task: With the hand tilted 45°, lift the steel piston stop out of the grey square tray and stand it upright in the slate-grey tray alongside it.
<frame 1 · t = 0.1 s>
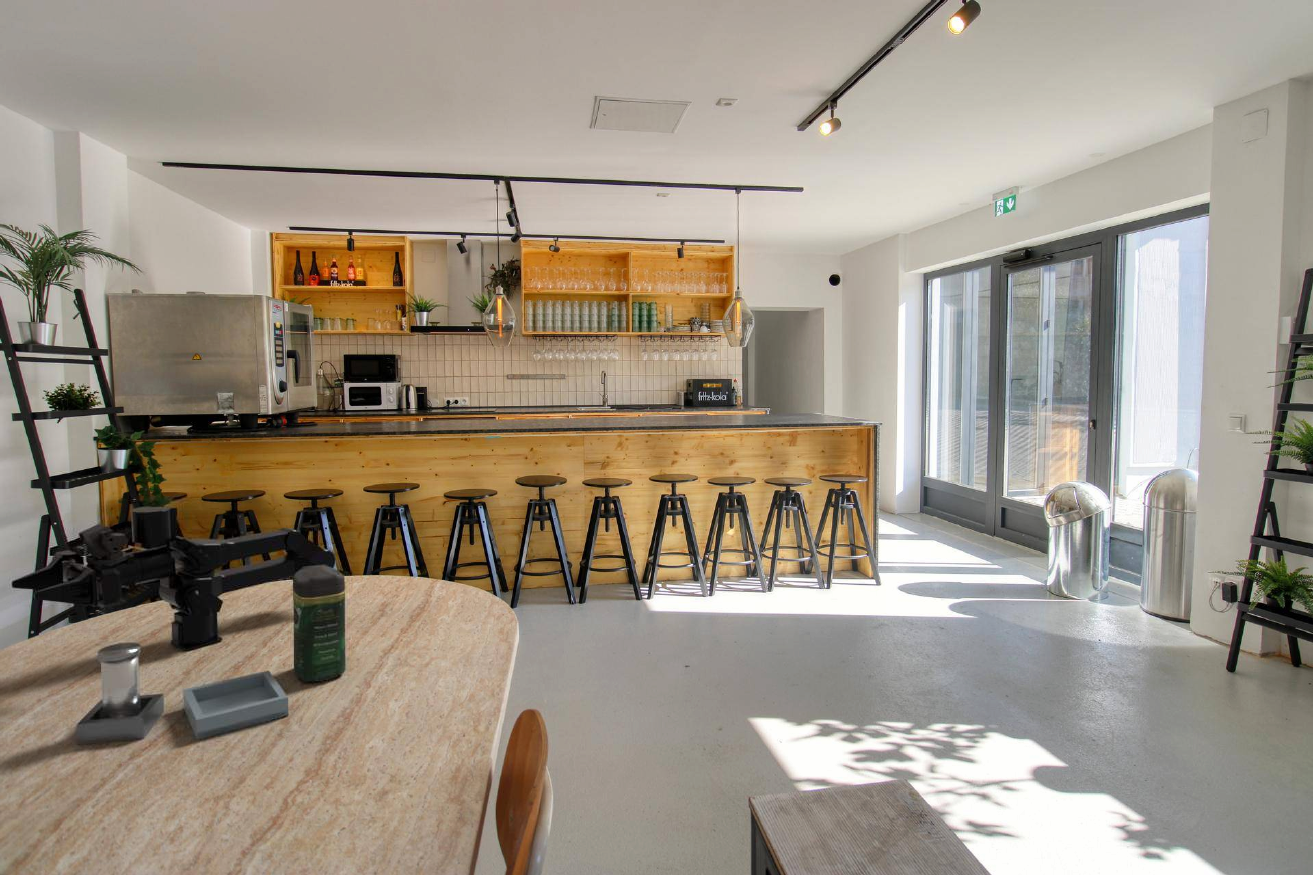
hand: (23, 590, 116), 17 cm above the table, tool horizontal, fingers open, 9 cm apart
coffee jar: (320, 673, 128), on the table
parts tray: (235, 711, 113), on the table
grey square tray: (122, 727, 107), on the table
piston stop: (121, 688, 107), in the grey square tray
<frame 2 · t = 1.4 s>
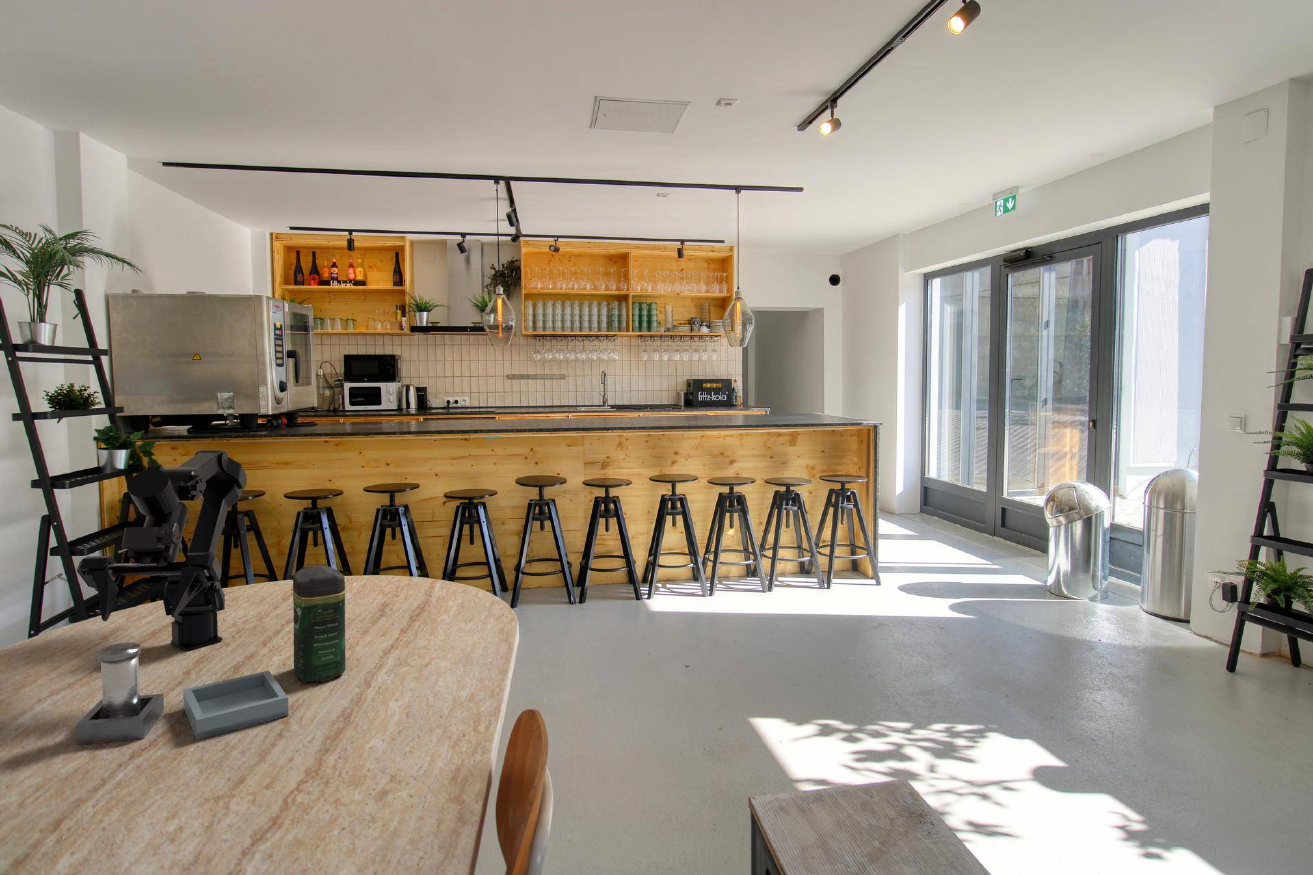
hand: (138, 618, 113), 14 cm above the table, tool tilted 45°, fingers open, 9 cm apart
nothing on the table moved.
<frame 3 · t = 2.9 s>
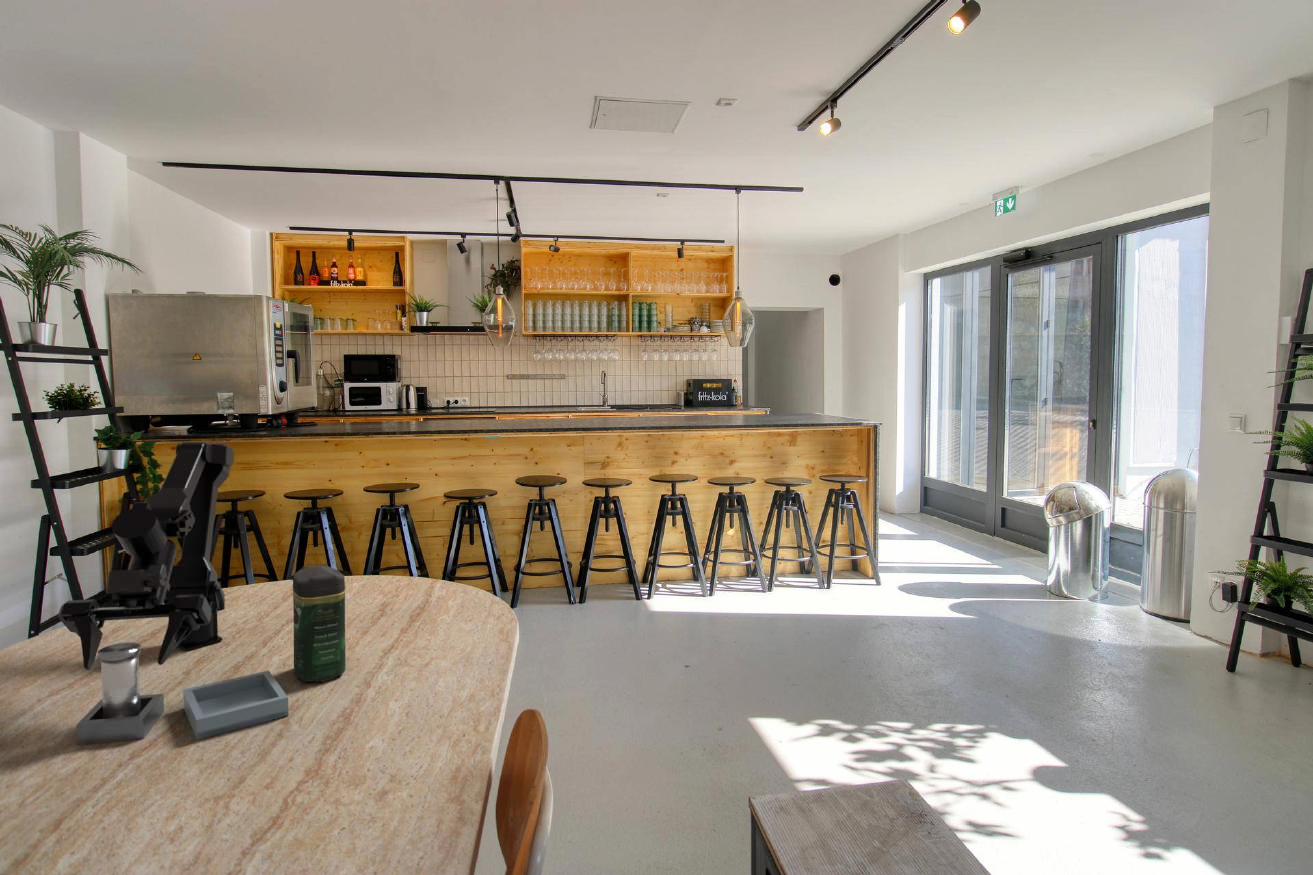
hand: (123, 666, 107), 9 cm above the table, tool tilted 45°, fingers open, 9 cm apart
nothing on the table moved.
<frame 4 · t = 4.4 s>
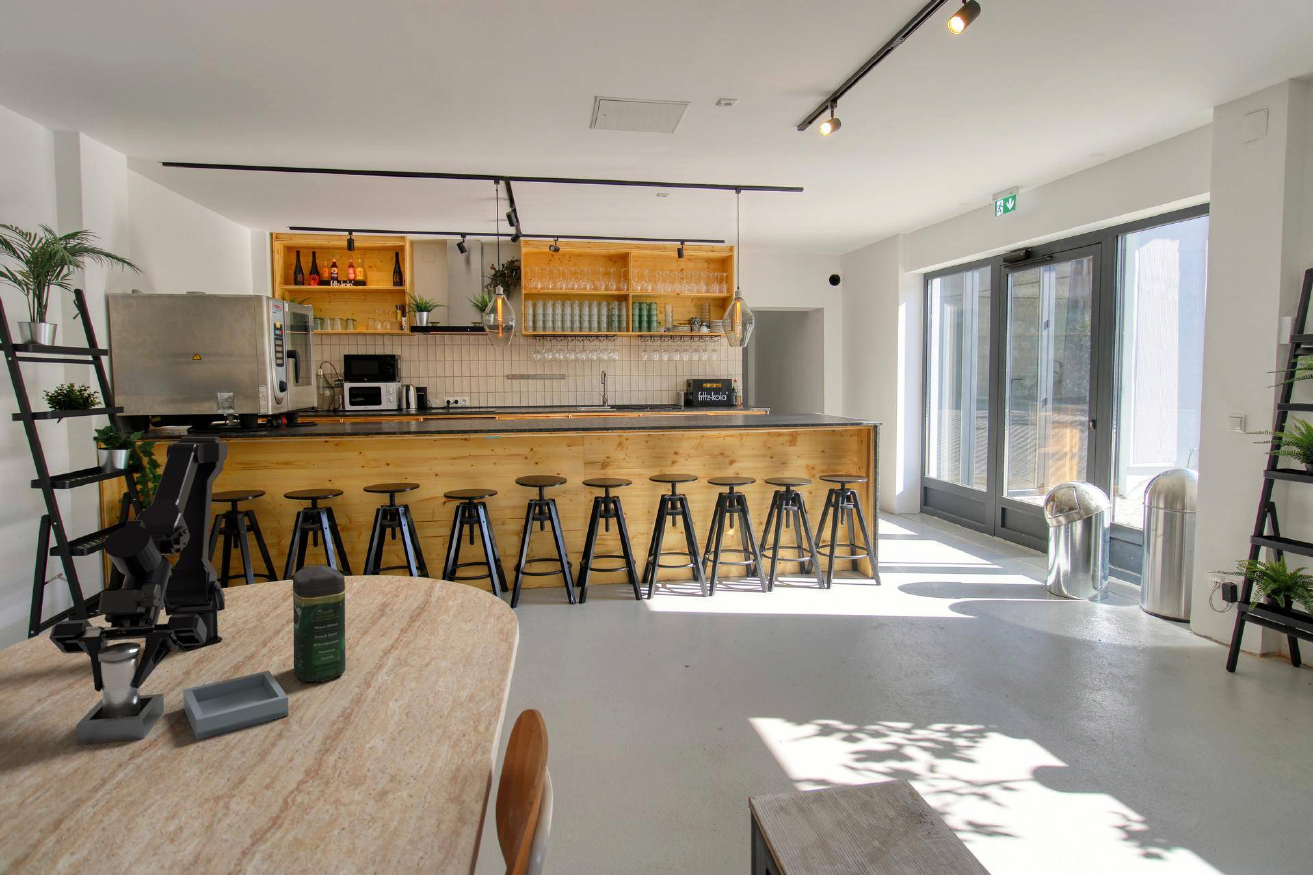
hand: (116, 688, 105), 7 cm above the table, tool tilted 45°, fingers closed on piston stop, 4 cm apart
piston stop: (121, 688, 107), in the grey square tray, touching gripper
everything else where it was.
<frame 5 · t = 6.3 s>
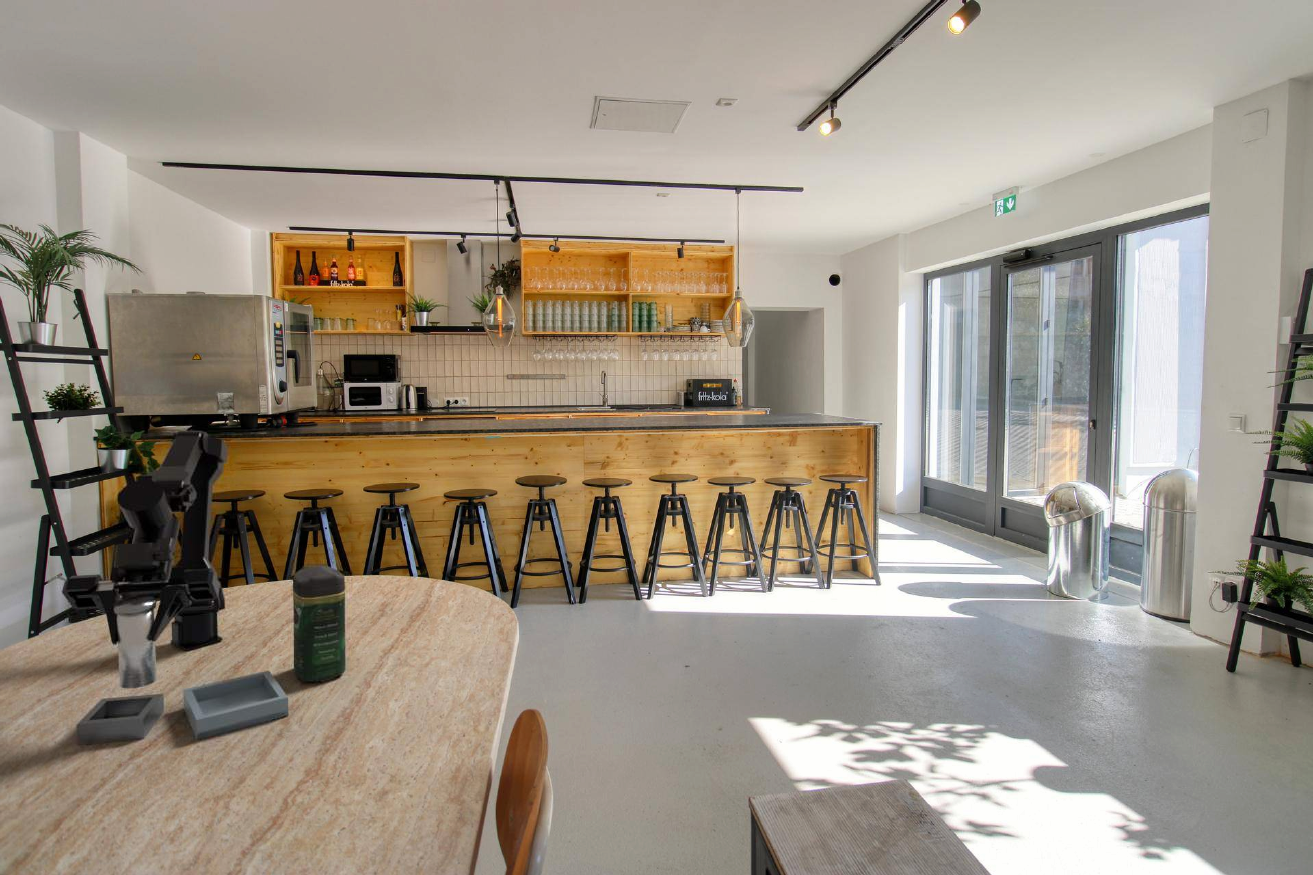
hand: (133, 641, 105), 13 cm above the table, tool tilted 45°, fingers closed on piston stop, 4 cm apart
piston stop: (136, 642, 106), point 13 cm above the table, touching gripper
everything else where it was.
when the fingers open (9 cm above the table, at t = 8.5 s): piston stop drops 1 cm, resting on parts tray.
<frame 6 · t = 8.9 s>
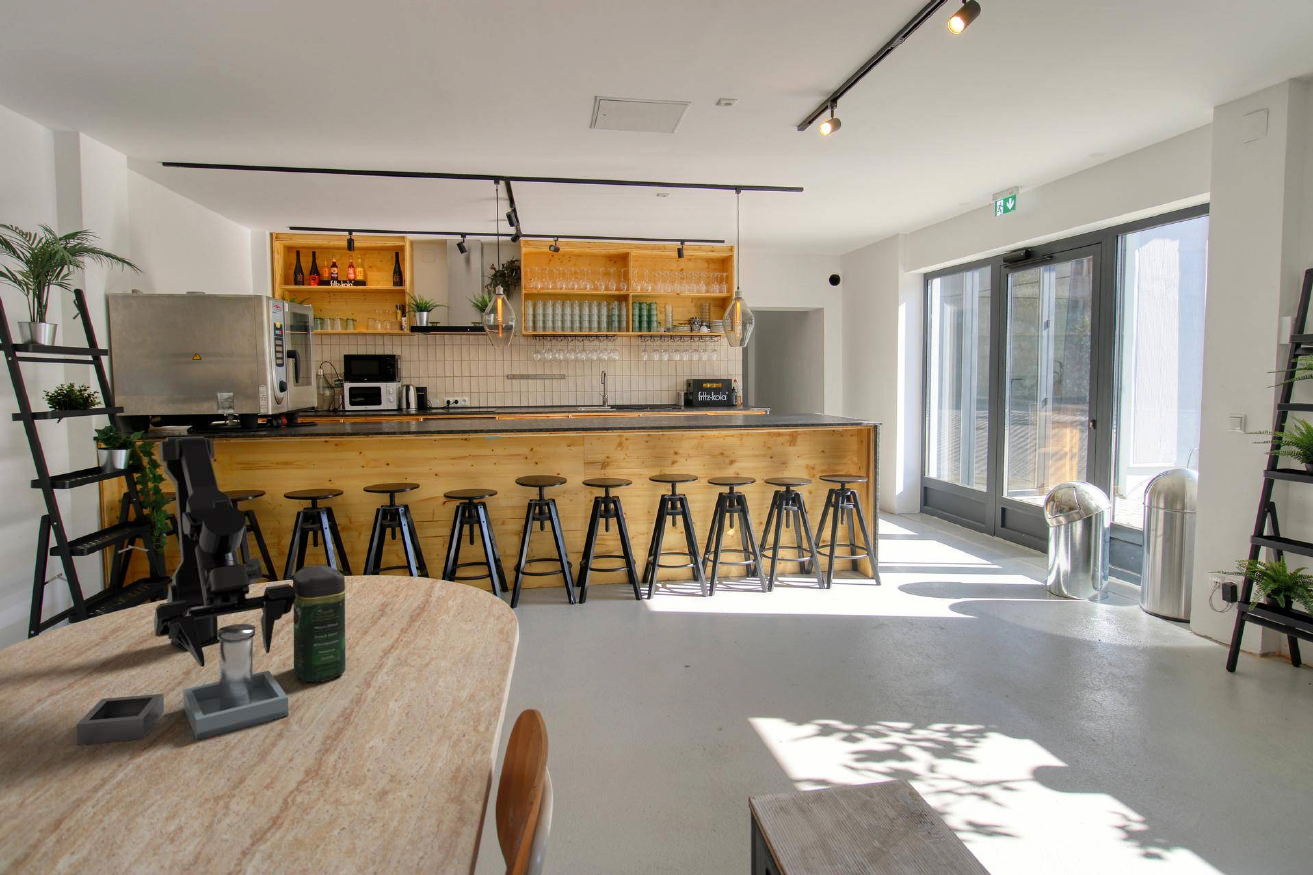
hand: (236, 658, 111), 9 cm above the table, tool tilted 45°, fingers open, 8 cm apart
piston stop: (236, 667, 112), in the parts tray, point 7 cm above the table
everything else where it was.
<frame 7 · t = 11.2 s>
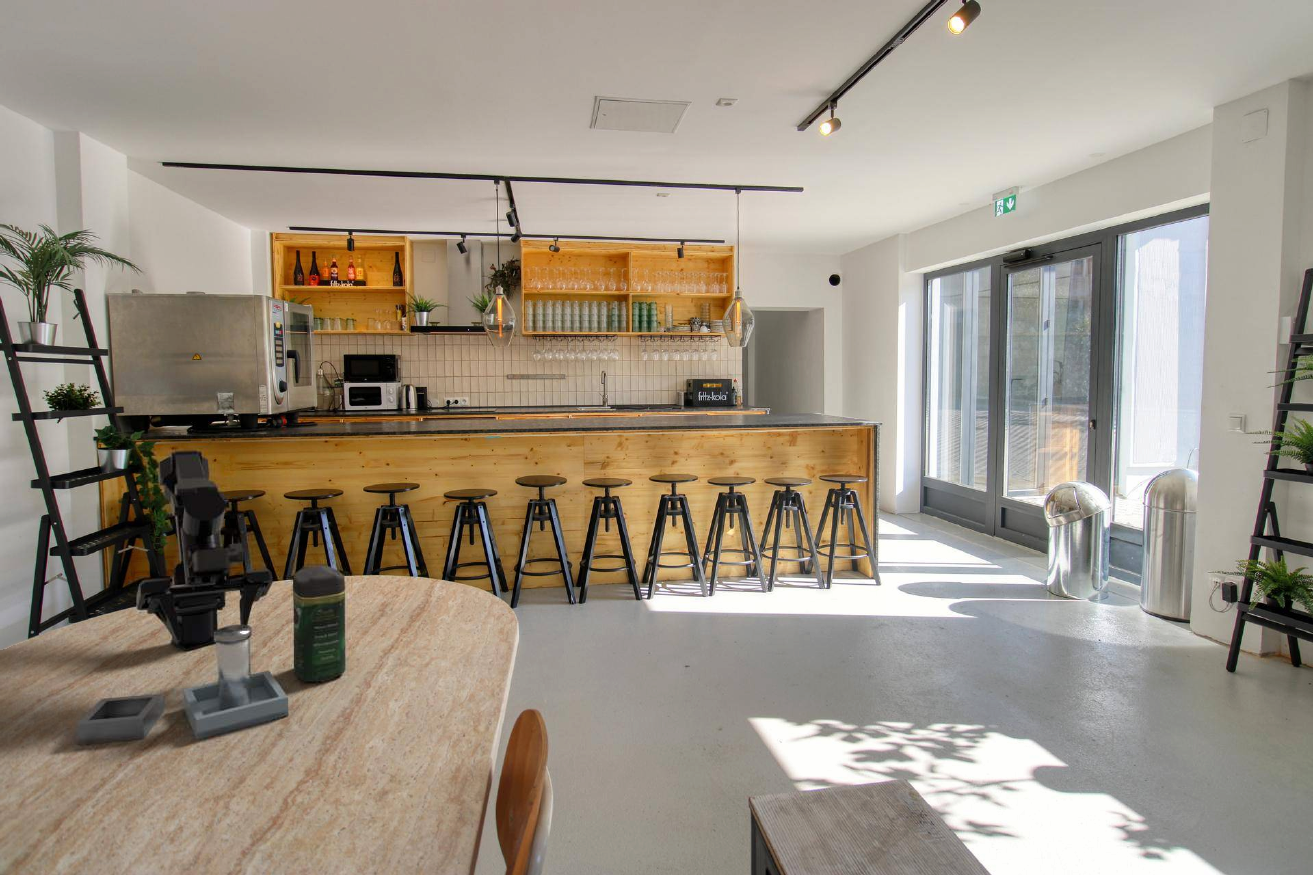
hand: (212, 636, 118), 10 cm above the table, tool tilted 40°, fingers open, 9 cm apart
nothing on the table moved.
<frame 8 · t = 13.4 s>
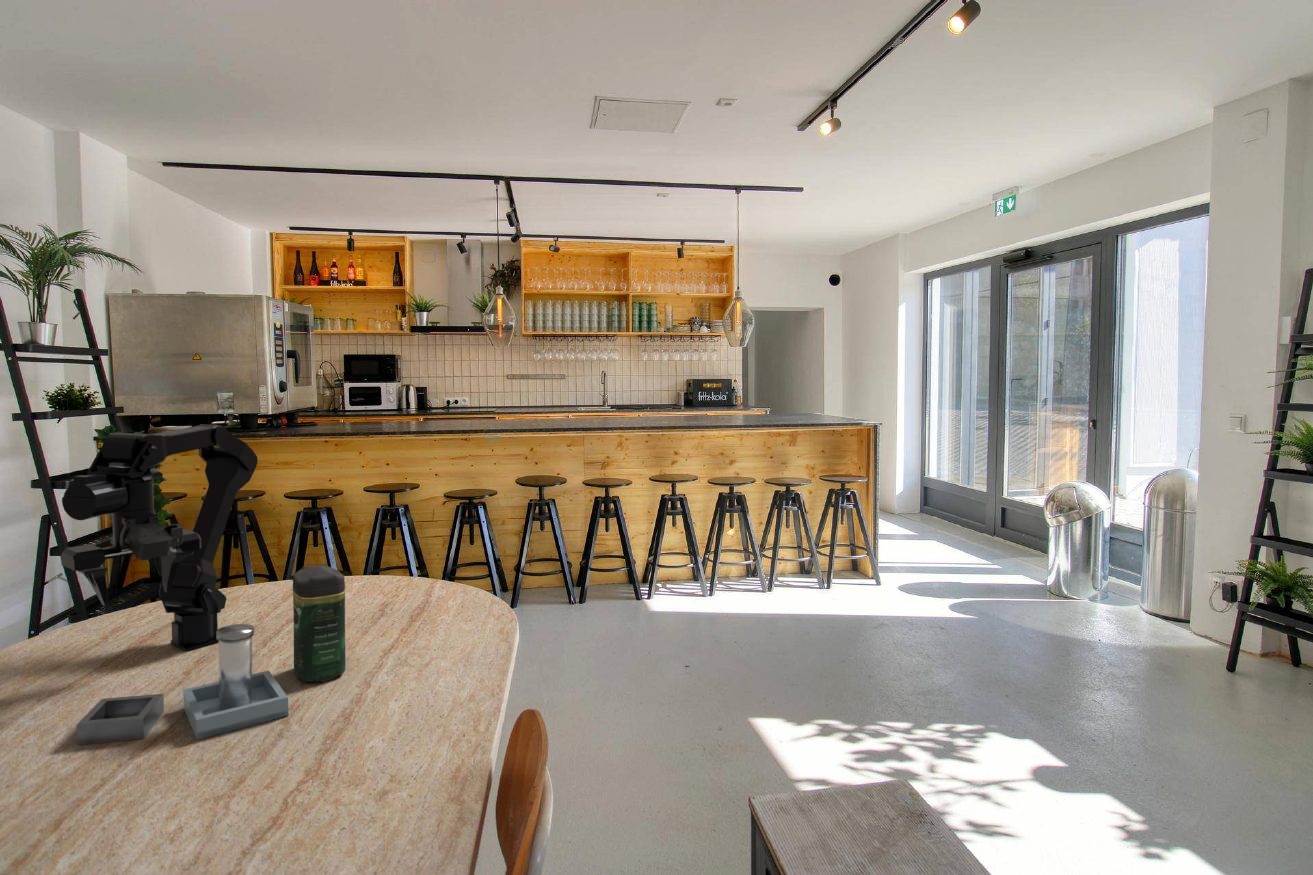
hand: (136, 598, 124), 13 cm above the table, tool pointing down, fingers open, 9 cm apart
nothing on the table moved.
at the end: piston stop inside the target area on the parts tray (0.1 cm from its centre), point 7.1 cm above the parts tray's base; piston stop tilted 2°; the gripper is holding nothing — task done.
